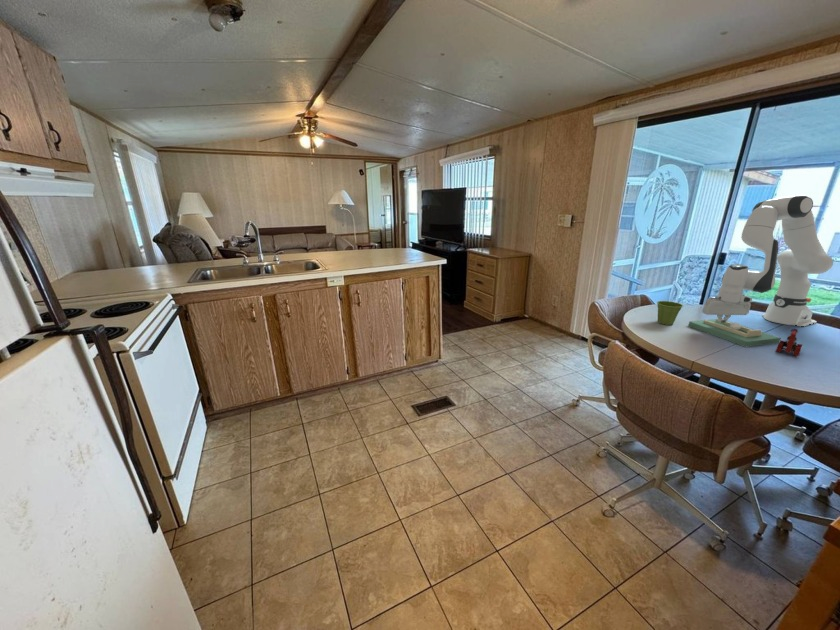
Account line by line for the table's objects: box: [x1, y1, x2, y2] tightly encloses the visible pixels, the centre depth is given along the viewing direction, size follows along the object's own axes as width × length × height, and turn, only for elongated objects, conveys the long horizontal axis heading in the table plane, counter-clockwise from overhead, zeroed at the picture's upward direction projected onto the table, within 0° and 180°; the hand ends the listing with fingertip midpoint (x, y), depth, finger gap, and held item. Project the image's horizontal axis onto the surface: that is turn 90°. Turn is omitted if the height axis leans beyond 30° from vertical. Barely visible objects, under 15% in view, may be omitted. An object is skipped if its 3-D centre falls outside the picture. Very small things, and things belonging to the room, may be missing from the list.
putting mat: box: [687, 318, 781, 348], centre depth 168 cm, size 28×20×6 cm
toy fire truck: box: [775, 328, 803, 357], centre depth 147 cm, size 7×12×10 cm, turn 129°
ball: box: [730, 322, 741, 330], centre depth 166 cm, size 4×4×4 cm
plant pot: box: [656, 300, 684, 326], centre depth 183 cm, size 12×12×11 cm
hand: (721, 322), depth 173 cm, fingers closed
